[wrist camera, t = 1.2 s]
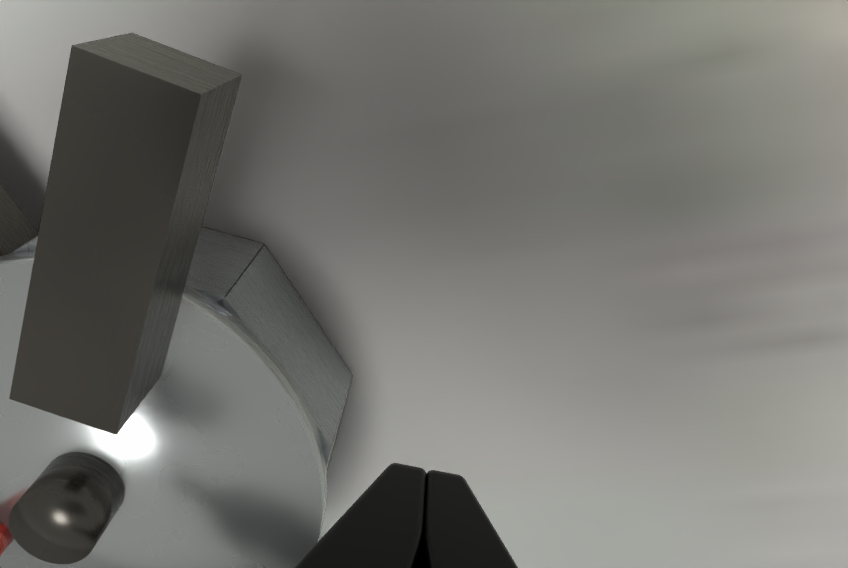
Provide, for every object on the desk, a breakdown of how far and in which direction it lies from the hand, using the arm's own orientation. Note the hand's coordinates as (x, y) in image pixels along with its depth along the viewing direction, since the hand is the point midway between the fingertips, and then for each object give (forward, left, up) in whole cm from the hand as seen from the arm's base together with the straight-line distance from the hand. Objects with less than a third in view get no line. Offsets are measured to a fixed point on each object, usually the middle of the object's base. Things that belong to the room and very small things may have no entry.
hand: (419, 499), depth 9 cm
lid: (+1, +9, -9) cm, 12 cm away
